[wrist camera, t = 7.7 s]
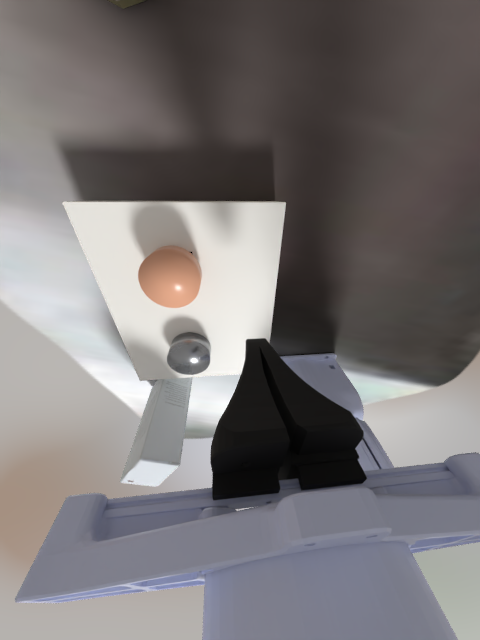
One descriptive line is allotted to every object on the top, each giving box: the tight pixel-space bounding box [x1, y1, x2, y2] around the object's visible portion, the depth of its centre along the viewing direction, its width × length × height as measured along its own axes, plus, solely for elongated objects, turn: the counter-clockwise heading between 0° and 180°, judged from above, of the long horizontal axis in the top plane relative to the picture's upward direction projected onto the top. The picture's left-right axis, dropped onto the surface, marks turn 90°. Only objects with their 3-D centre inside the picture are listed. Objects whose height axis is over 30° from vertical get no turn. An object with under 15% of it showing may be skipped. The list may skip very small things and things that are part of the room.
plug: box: [167, 332, 211, 375], centre depth 22 cm, size 4×4×5 cm
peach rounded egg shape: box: [138, 245, 202, 308], centre depth 16 cm, size 4×4×5 cm
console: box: [62, 201, 286, 381], centre depth 21 cm, size 16×19×4 cm
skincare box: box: [120, 377, 192, 486], centre depth 24 cm, size 6×4×12 cm
